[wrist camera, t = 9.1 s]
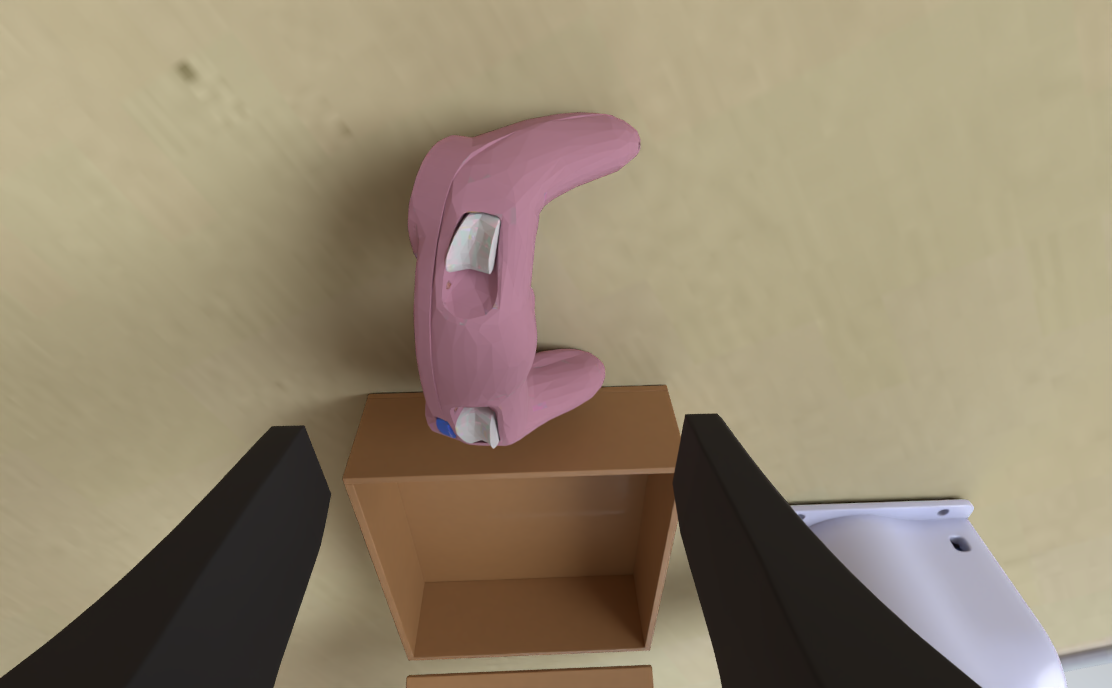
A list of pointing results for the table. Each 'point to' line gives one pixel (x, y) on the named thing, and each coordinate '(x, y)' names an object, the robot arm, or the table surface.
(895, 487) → the table surface
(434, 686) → the brown box lid
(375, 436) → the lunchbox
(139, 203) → the table surface
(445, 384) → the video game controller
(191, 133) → the table surface
